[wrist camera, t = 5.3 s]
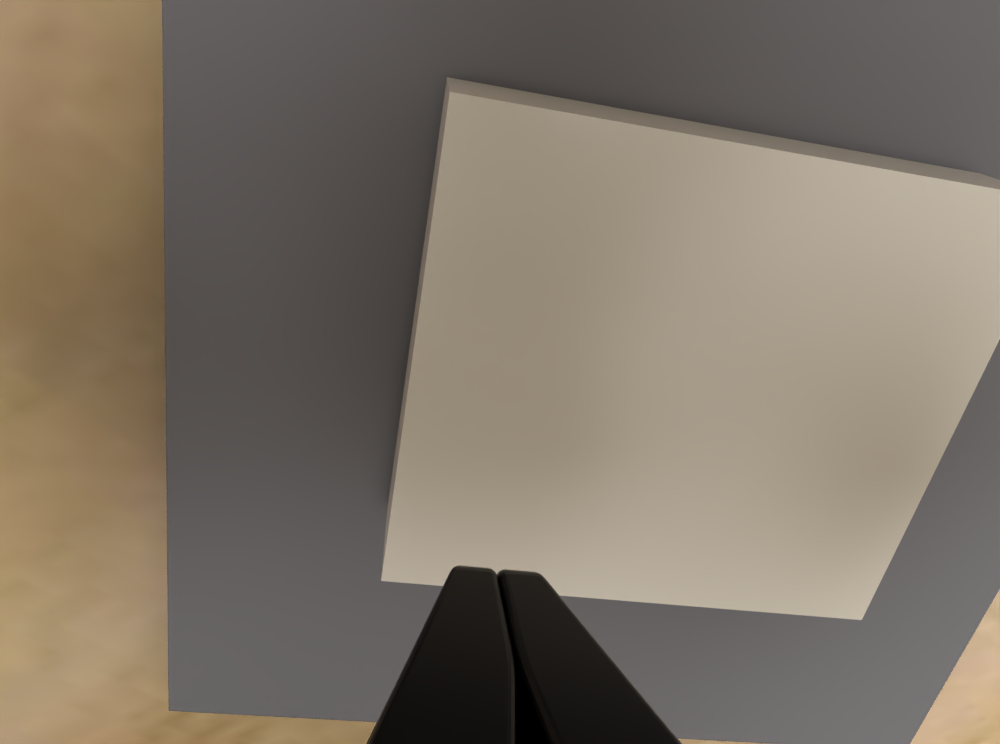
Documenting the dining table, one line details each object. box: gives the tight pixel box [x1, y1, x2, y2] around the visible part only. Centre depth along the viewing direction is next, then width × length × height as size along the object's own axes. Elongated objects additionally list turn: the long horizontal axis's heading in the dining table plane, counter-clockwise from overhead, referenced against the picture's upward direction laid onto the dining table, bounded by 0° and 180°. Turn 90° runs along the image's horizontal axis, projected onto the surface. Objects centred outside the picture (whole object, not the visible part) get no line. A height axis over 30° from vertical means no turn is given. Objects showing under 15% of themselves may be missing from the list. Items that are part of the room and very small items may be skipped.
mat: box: [162, 0, 1000, 744], centre depth 14 cm, size 20×18×1 cm
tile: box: [381, 77, 1000, 620], centre depth 13 cm, size 8×2×9 cm
